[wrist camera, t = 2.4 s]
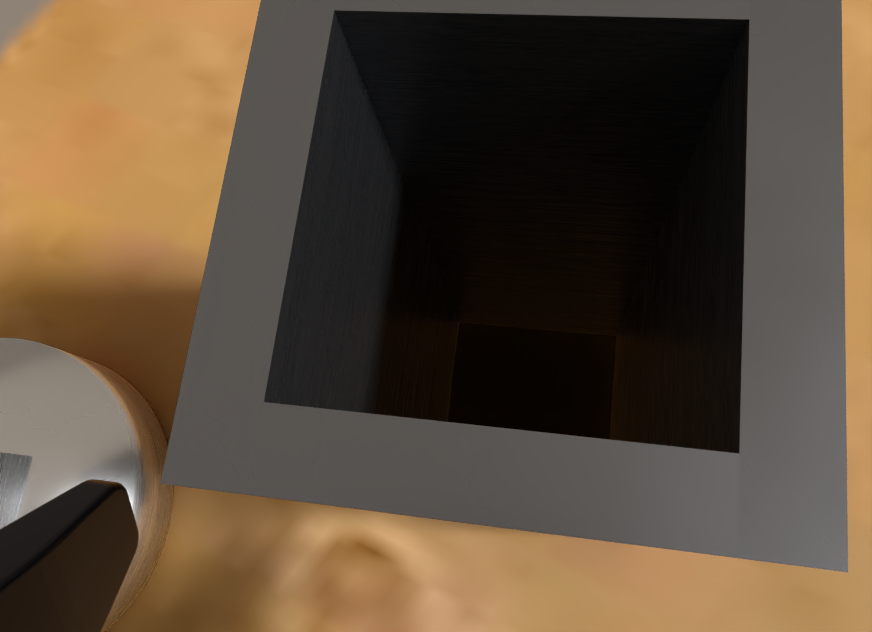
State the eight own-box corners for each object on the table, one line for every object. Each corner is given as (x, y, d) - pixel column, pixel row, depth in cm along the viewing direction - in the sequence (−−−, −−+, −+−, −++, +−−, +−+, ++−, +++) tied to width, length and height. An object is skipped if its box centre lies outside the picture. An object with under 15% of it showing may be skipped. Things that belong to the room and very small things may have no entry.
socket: (638, 537, 18) (848, 571, 6) (404, 508, 19) (160, 483, 7) (650, 308, 19) (840, -53, 7) (432, 290, 20) (273, -57, 8)
